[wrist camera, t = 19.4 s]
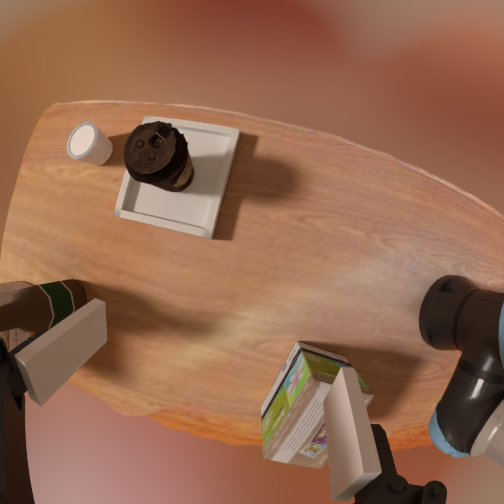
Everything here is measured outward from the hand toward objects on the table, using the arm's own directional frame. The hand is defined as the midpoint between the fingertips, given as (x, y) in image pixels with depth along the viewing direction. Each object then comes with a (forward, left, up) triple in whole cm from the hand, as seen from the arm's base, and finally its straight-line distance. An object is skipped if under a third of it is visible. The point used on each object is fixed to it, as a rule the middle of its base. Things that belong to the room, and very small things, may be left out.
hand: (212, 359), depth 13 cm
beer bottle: (+30, +11, -30) cm, 44 cm away
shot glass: (+31, -17, -30) cm, 47 cm away
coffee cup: (+14, -15, -29) cm, 36 cm away
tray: (+14, -15, -30) cm, 36 cm away
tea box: (-15, +15, -30) cm, 37 cm away
